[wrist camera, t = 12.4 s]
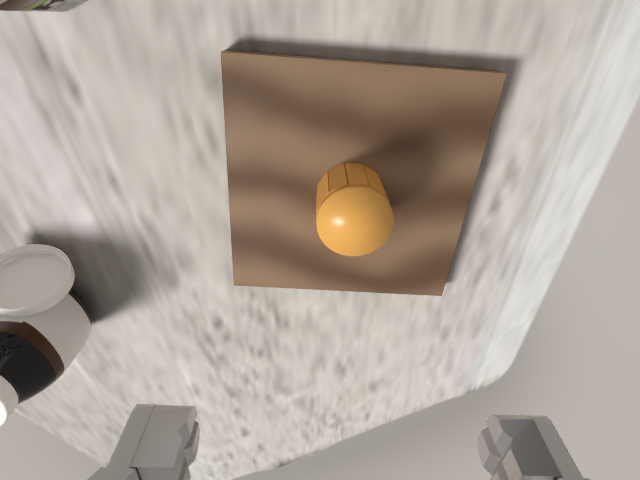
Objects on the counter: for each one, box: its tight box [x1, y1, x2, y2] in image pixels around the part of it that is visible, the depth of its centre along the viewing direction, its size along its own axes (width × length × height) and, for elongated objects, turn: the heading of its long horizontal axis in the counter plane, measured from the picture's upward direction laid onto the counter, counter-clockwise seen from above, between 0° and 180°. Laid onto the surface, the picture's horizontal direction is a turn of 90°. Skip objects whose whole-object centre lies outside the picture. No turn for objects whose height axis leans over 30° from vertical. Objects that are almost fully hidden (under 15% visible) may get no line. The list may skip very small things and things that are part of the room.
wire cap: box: [316, 163, 394, 256], centre depth 30 cm, size 6×6×5 cm
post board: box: [221, 50, 507, 296], centre depth 31 cm, size 20×20×5 cm
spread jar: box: [0, 244, 91, 426], centre depth 34 cm, size 12×11×12 cm
